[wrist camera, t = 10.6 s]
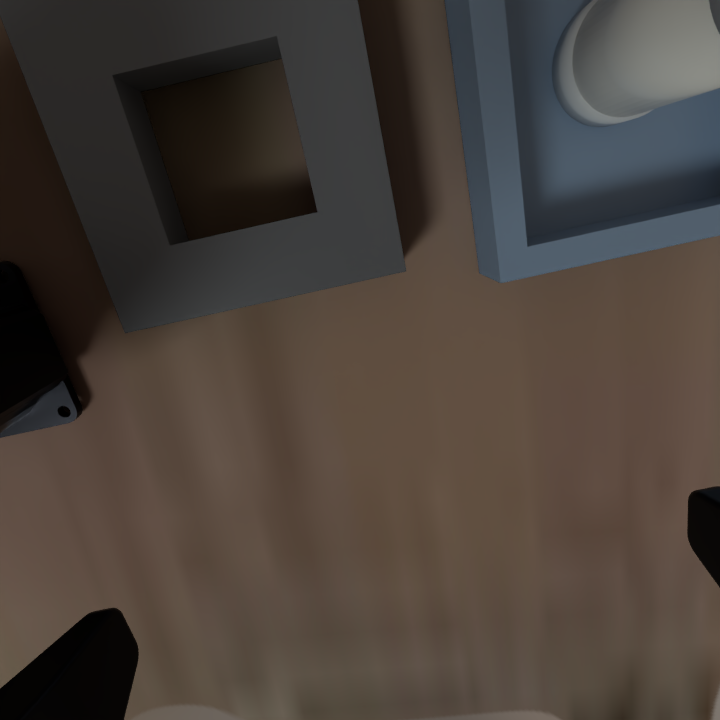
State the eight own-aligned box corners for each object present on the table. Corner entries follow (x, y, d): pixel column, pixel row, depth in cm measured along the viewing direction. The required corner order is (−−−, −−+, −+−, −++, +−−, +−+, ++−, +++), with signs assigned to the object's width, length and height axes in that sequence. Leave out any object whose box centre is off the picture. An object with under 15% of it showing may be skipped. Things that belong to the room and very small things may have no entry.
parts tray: (479, 273, 18) (500, 283, 15) (429, -114, 14) (447, -181, 12) (737, 216, 17) (799, 217, 15) (757, -195, 14) (845, -280, 11)
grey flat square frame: (148, 320, 18) (125, 333, 16) (37, 22, 15) (-9, -5, 13) (399, 264, 17) (406, 271, 16) (341, -51, 14) (341, -91, 12)
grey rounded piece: (555, 138, 16) (754, 72, 8) (547, 10, 15) (771, -205, 7) (665, 113, 16) (968, 24, 8) (665, -17, 15) (1020, -266, 7)
